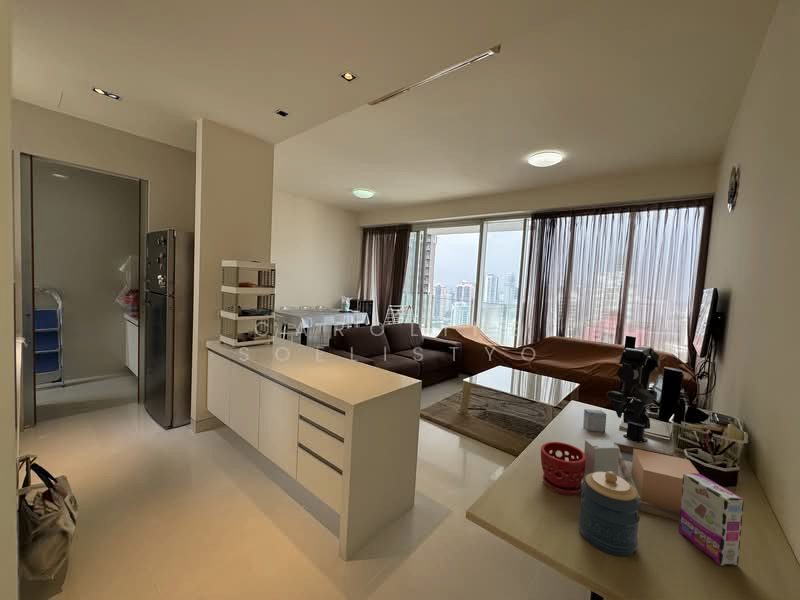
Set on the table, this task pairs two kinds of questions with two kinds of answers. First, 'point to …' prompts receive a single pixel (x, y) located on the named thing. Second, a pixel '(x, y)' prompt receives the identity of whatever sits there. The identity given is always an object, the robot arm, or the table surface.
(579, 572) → the table surface
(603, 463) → the skincare box
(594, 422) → the medicine box
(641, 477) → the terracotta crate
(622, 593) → the table surface
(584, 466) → the plant pot
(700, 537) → the candy bar box
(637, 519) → the canister
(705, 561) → the table surface
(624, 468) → the tray
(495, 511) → the table surface
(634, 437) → the robot arm
